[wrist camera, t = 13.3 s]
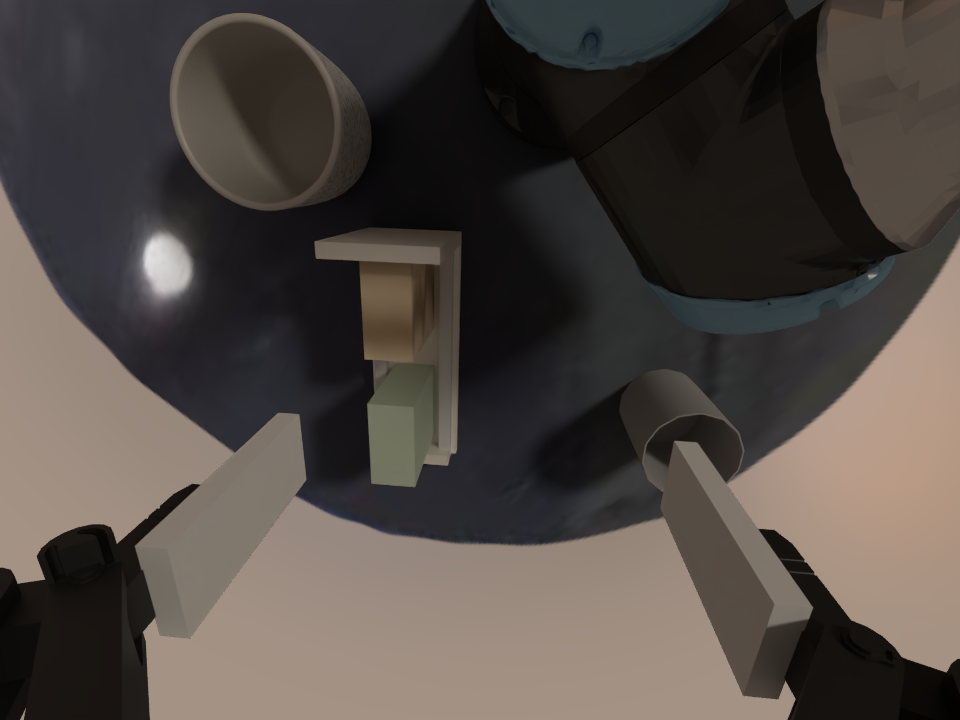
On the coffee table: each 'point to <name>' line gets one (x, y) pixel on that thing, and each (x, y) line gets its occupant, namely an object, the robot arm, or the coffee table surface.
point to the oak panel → (396, 309)
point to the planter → (267, 115)
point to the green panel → (401, 424)
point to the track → (445, 335)
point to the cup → (676, 424)
